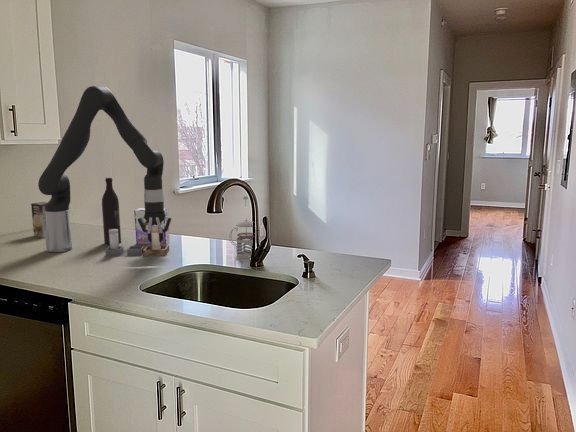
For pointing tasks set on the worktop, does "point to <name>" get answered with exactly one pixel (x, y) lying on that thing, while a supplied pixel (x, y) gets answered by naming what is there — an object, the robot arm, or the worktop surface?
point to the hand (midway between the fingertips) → (155, 241)
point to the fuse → (113, 239)
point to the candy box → (143, 236)
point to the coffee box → (39, 219)
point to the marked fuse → (155, 237)
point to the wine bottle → (110, 212)
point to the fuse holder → (130, 251)
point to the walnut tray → (150, 252)
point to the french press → (244, 254)
